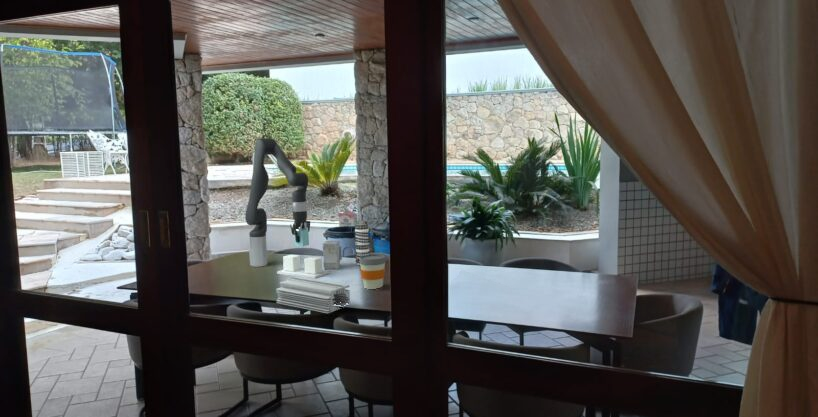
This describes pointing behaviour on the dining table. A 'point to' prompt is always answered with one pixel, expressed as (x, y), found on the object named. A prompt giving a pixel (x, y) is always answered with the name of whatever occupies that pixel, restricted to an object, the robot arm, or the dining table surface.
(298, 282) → the aluminum extrusion profile
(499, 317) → the dining table surface
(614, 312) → the dining table surface
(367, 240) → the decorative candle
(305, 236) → the block
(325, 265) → the circuit breaker
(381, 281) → the reusable coffee cup
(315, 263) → the rail panel
